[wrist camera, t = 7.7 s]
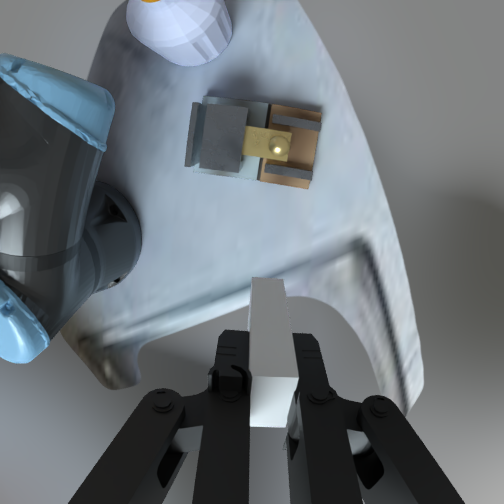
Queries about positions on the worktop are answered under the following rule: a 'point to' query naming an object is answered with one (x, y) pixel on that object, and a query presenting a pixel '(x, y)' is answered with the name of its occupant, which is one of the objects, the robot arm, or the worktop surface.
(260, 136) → the bolt
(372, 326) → the worktop surface
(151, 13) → the soap bottle
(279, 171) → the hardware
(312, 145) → the panel
